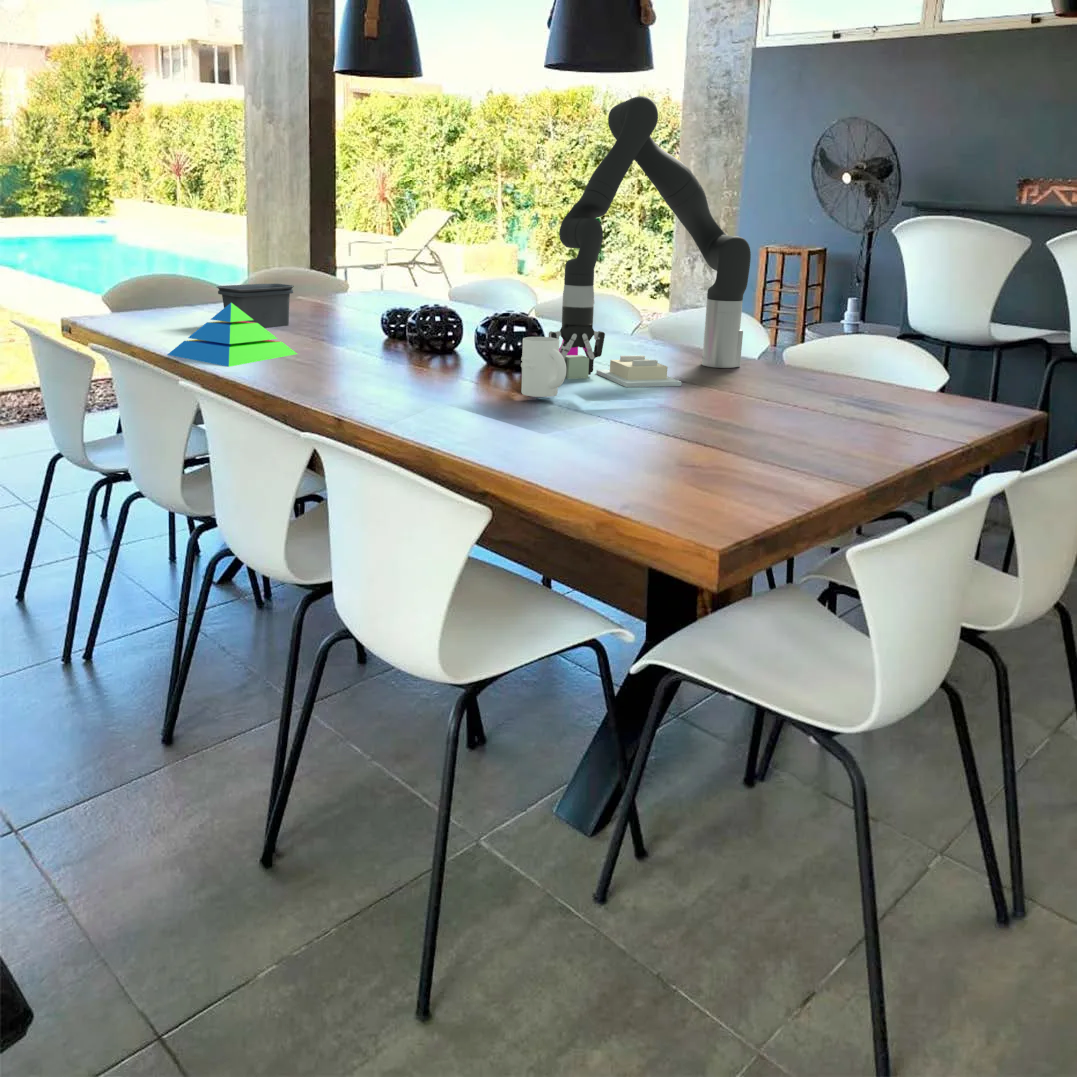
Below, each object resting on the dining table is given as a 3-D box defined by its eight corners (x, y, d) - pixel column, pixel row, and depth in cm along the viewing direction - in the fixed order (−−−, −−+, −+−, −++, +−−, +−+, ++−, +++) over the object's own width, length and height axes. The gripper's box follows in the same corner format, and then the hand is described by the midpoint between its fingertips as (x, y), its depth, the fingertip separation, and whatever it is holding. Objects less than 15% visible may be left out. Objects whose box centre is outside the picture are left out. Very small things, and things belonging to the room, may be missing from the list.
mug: (549, 401, 220) (551, 344, 217) (513, 392, 229) (514, 338, 225) (577, 397, 226) (579, 341, 222) (540, 389, 234) (542, 335, 230)
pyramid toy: (163, 357, 267) (158, 301, 263) (239, 349, 287) (236, 296, 283) (228, 368, 254) (225, 309, 250) (303, 358, 274) (301, 303, 270)
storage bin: (239, 338, 304) (236, 288, 299) (211, 333, 314) (208, 284, 309) (300, 333, 319) (298, 286, 314) (271, 328, 329) (269, 282, 324)
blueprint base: (648, 372, 263) (649, 352, 261) (681, 385, 245) (682, 363, 243) (596, 373, 259) (597, 352, 257) (626, 387, 241) (627, 364, 239)
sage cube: (581, 375, 256) (582, 355, 255) (588, 378, 252) (589, 358, 250) (562, 375, 255) (563, 355, 253) (568, 379, 250) (569, 358, 249)
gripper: (600, 303, 254) (597, 371, 259) (544, 303, 249) (542, 372, 254) (611, 306, 247) (608, 376, 252) (554, 305, 243) (551, 377, 248)
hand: (575, 374), depth 253 cm, fingers open, 6 cm apart
